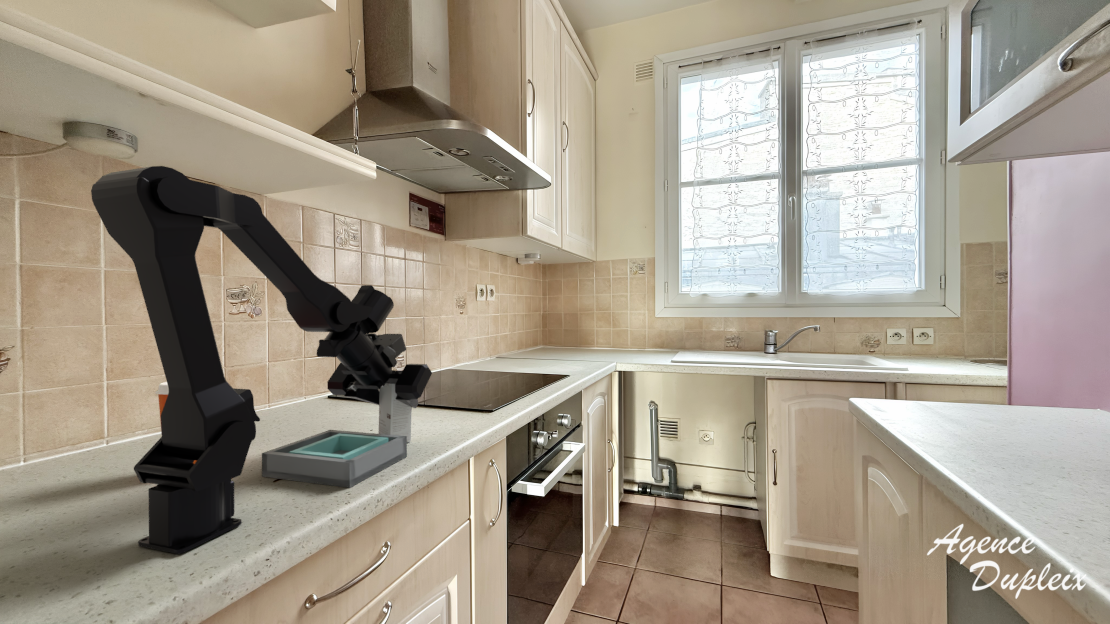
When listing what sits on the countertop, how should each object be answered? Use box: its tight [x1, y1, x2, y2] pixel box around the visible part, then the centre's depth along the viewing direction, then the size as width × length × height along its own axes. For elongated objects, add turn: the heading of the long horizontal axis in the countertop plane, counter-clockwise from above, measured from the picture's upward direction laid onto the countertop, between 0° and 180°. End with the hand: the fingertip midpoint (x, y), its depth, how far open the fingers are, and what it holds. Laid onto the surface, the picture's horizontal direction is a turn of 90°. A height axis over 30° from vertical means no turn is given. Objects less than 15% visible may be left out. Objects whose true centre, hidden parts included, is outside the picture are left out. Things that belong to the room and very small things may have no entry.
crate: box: [261, 429, 408, 489], centre depth 67 cm, size 13×16×4 cm
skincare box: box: [378, 383, 413, 444], centre depth 80 cm, size 6×4×12 cm
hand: (399, 404), depth 81 cm, fingers closed on skincare box, 7 cm apart
